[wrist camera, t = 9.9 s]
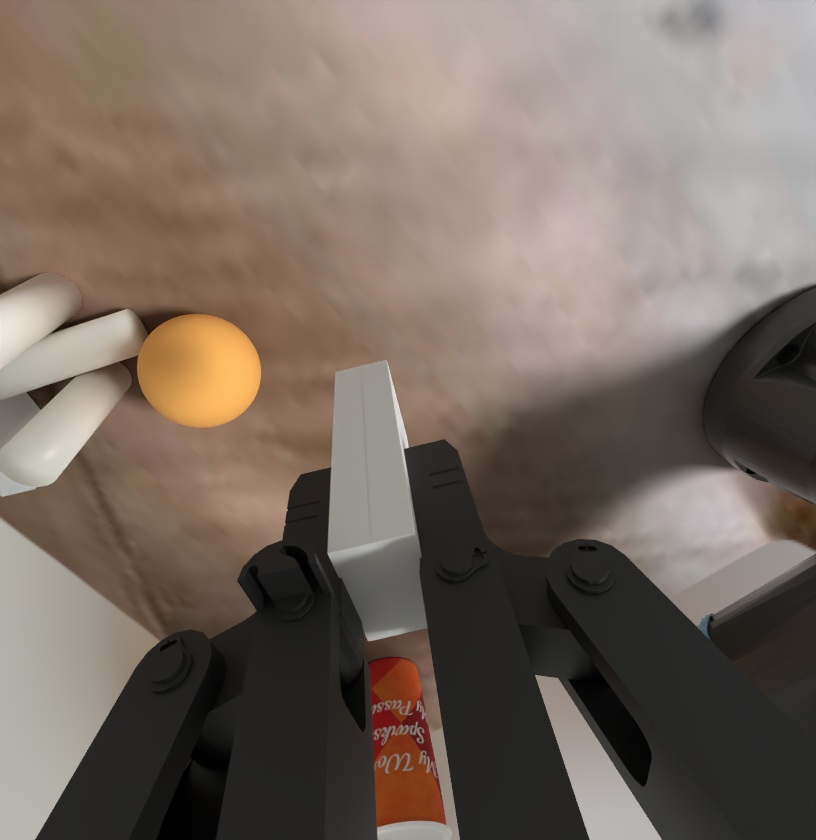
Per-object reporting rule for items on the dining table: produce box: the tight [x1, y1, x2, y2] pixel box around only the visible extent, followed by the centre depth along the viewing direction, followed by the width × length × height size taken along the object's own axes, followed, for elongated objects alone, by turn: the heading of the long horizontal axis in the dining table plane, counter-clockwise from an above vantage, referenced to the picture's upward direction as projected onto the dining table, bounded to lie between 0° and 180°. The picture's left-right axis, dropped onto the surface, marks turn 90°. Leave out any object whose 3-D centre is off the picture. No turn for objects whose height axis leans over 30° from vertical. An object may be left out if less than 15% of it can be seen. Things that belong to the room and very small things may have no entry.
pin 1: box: [0, 273, 82, 370], centre depth 21 cm, size 2×2×8 cm
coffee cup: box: [368, 657, 452, 840], centre depth 43 cm, size 8×8×15 cm
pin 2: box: [0, 362, 132, 487], centre depth 24 cm, size 2×2×8 cm
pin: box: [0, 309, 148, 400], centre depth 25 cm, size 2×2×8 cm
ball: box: [137, 314, 261, 428], centre depth 25 cm, size 6×6×6 cm
